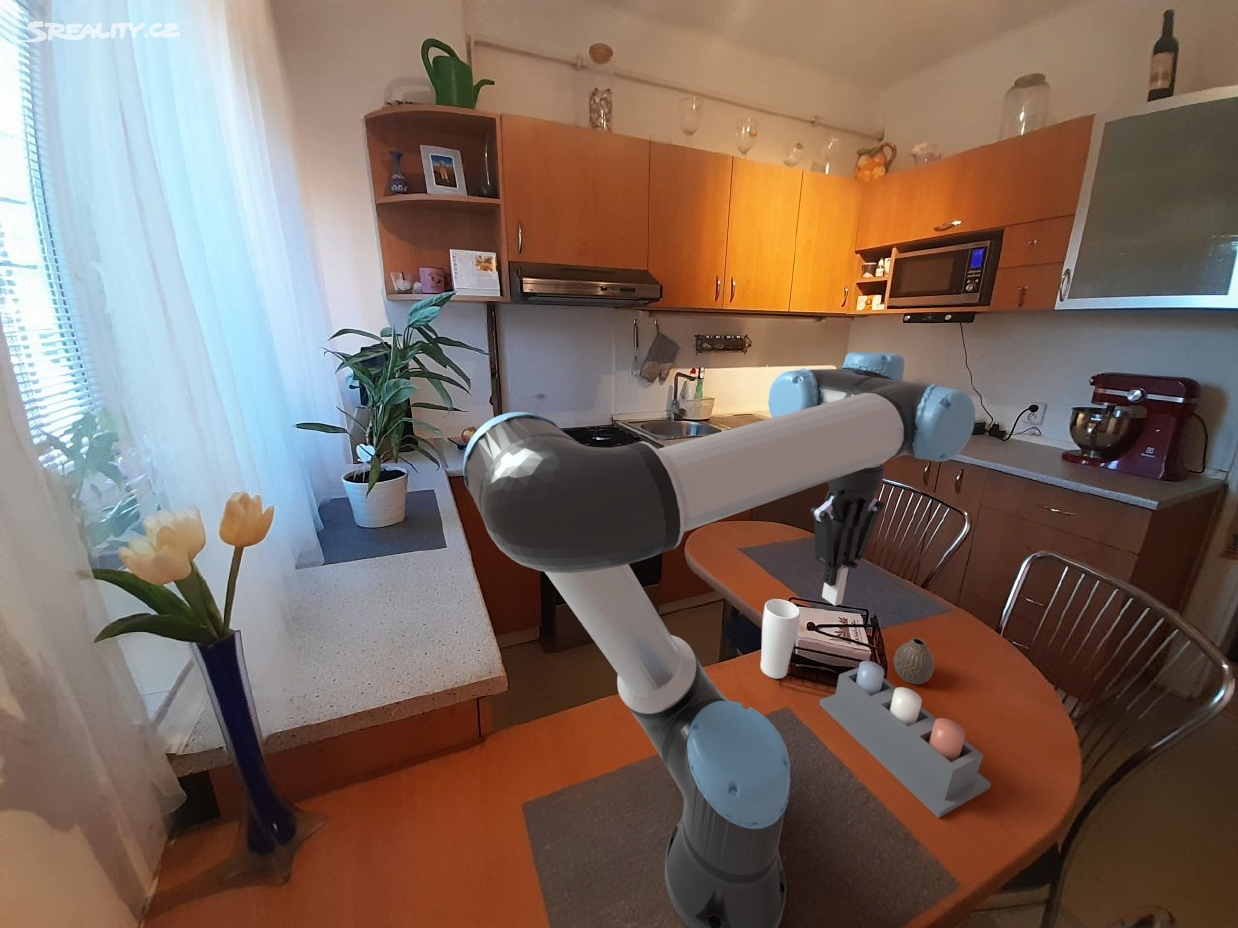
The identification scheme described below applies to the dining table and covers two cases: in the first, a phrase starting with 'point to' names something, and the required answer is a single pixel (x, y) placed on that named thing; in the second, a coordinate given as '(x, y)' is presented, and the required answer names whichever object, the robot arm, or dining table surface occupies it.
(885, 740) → the grey slotted holder
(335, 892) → the dining table surface
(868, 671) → the light blue rounded cylinder
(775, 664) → the drinking glass
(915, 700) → the white rounded cylinder
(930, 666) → the vase
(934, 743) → the pink rounded cylinder
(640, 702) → the robot arm
